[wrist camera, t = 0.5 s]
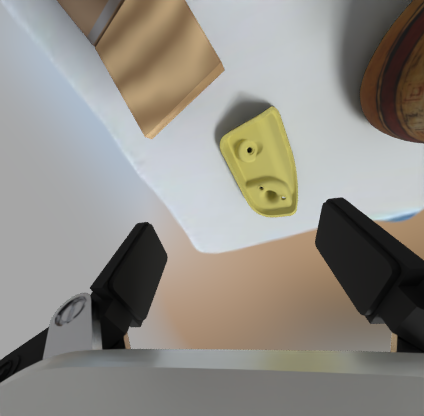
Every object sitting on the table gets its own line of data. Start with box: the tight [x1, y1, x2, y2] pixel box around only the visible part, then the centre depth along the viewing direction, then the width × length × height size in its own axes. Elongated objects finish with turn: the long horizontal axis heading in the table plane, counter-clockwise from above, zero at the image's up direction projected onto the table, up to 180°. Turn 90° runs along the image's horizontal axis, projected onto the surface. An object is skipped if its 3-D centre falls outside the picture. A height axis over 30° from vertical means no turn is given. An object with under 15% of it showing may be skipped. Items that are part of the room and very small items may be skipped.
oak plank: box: [95, 0, 224, 139], centre depth 22 cm, size 16×14×2 cm
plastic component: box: [220, 107, 298, 217], centre depth 33 cm, size 20×7×10 cm
